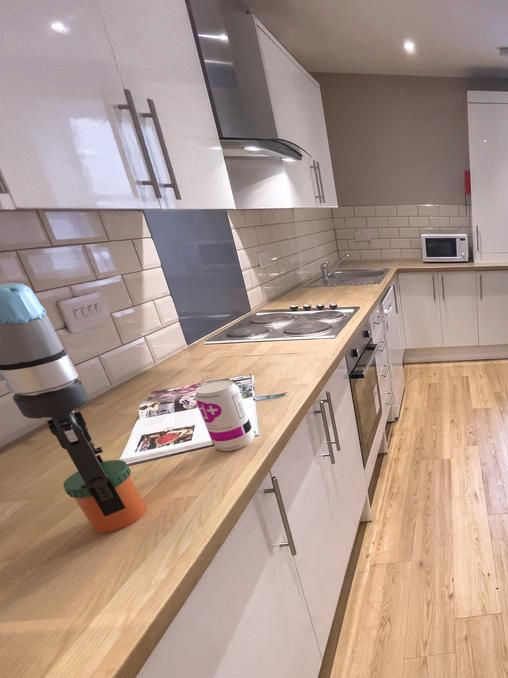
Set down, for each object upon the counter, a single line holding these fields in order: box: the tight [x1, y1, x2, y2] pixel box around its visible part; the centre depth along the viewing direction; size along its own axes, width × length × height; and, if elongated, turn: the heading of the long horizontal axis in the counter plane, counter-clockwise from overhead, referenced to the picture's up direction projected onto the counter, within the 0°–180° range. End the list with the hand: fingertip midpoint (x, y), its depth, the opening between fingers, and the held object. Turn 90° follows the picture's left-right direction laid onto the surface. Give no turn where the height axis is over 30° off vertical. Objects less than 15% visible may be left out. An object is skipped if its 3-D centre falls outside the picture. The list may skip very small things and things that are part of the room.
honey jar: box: [73, 475, 147, 534], centre depth 73 cm, size 7×7×10 cm
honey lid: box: [62, 459, 132, 499], centre depth 71 cm, size 8×8×2 cm
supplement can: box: [194, 379, 255, 452], centre depth 94 cm, size 8×8×15 cm
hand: (110, 498), depth 73 cm, fingers open, 9 cm apart
